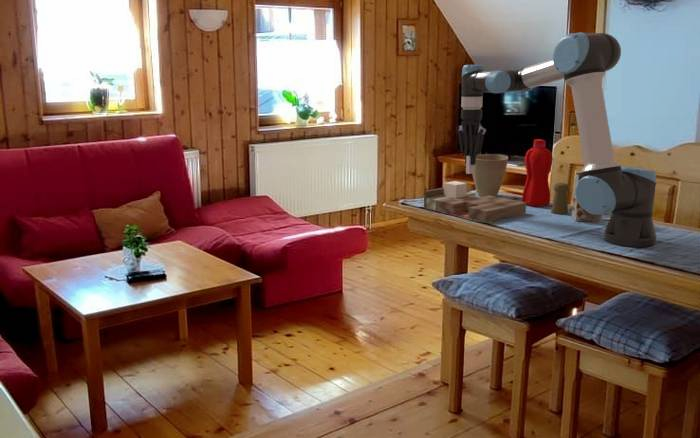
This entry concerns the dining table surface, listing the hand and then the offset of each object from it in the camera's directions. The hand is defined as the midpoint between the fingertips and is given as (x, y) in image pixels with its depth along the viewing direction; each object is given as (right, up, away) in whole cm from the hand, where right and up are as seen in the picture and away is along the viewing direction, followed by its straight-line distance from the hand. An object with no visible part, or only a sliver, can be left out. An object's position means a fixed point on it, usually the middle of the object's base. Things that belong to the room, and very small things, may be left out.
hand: (469, 173), depth 261 cm
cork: (+32, -15, -2) cm, 36 cm away
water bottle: (+28, -11, +12) cm, 33 cm away
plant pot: (+12, -8, +27) cm, 31 cm away
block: (-4, -8, +7) cm, 12 cm away
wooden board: (+2, -14, +1) cm, 14 cm away
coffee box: (+39, -17, -12) cm, 44 cm away
